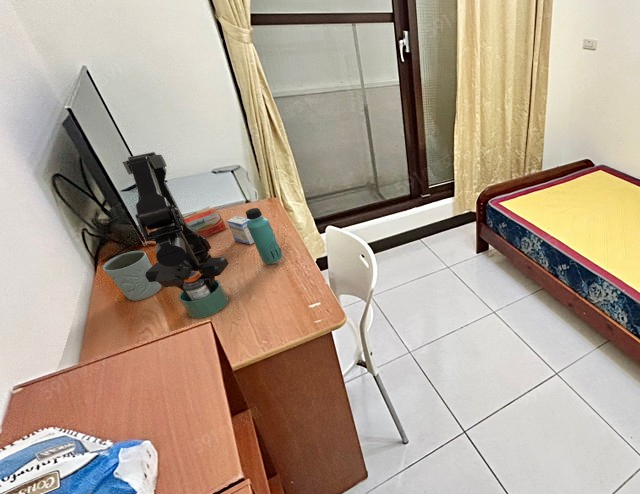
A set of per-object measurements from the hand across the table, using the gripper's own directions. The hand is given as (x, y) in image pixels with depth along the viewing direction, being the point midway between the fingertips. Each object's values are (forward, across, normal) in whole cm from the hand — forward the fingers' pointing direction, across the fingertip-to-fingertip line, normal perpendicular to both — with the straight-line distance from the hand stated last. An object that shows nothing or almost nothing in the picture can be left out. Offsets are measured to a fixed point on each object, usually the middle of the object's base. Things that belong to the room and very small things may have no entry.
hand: (201, 292), depth 114 cm
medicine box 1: (+5, -24, +43) cm, 49 cm away
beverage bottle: (+5, +11, +20) cm, 23 cm away
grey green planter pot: (+5, -24, +10) cm, 26 cm away
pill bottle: (+5, 0, 0) cm, 5 cm away
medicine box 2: (+5, -4, +36) cm, 37 cm away
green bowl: (+5, 0, 0) cm, 5 cm away
